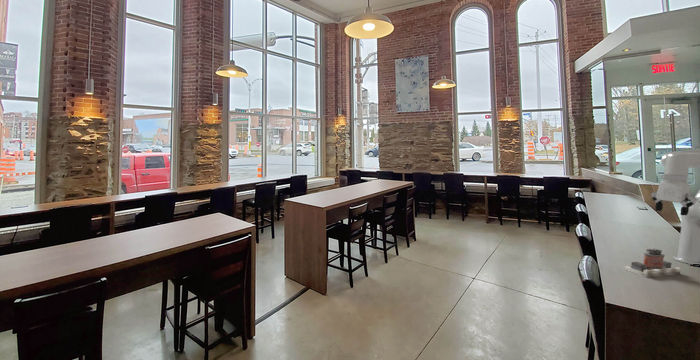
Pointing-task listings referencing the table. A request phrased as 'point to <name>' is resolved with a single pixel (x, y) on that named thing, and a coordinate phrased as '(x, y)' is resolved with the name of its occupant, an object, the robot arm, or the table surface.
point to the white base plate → (642, 270)
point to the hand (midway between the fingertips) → (670, 212)
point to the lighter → (653, 259)
